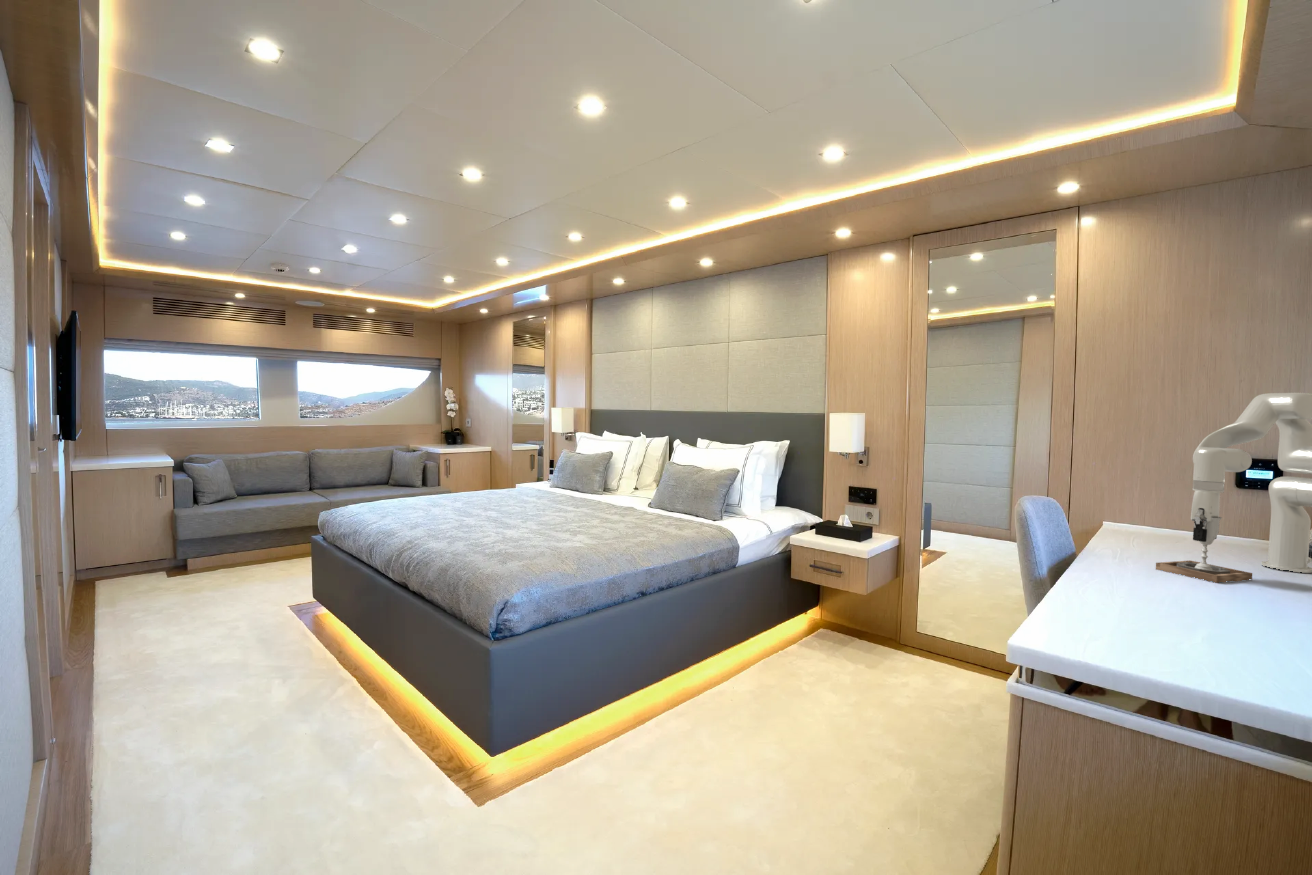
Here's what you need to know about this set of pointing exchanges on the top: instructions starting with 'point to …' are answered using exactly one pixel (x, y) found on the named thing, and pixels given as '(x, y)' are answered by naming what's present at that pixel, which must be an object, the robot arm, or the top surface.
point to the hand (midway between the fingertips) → (1204, 539)
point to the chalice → (1209, 542)
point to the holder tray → (1202, 574)
